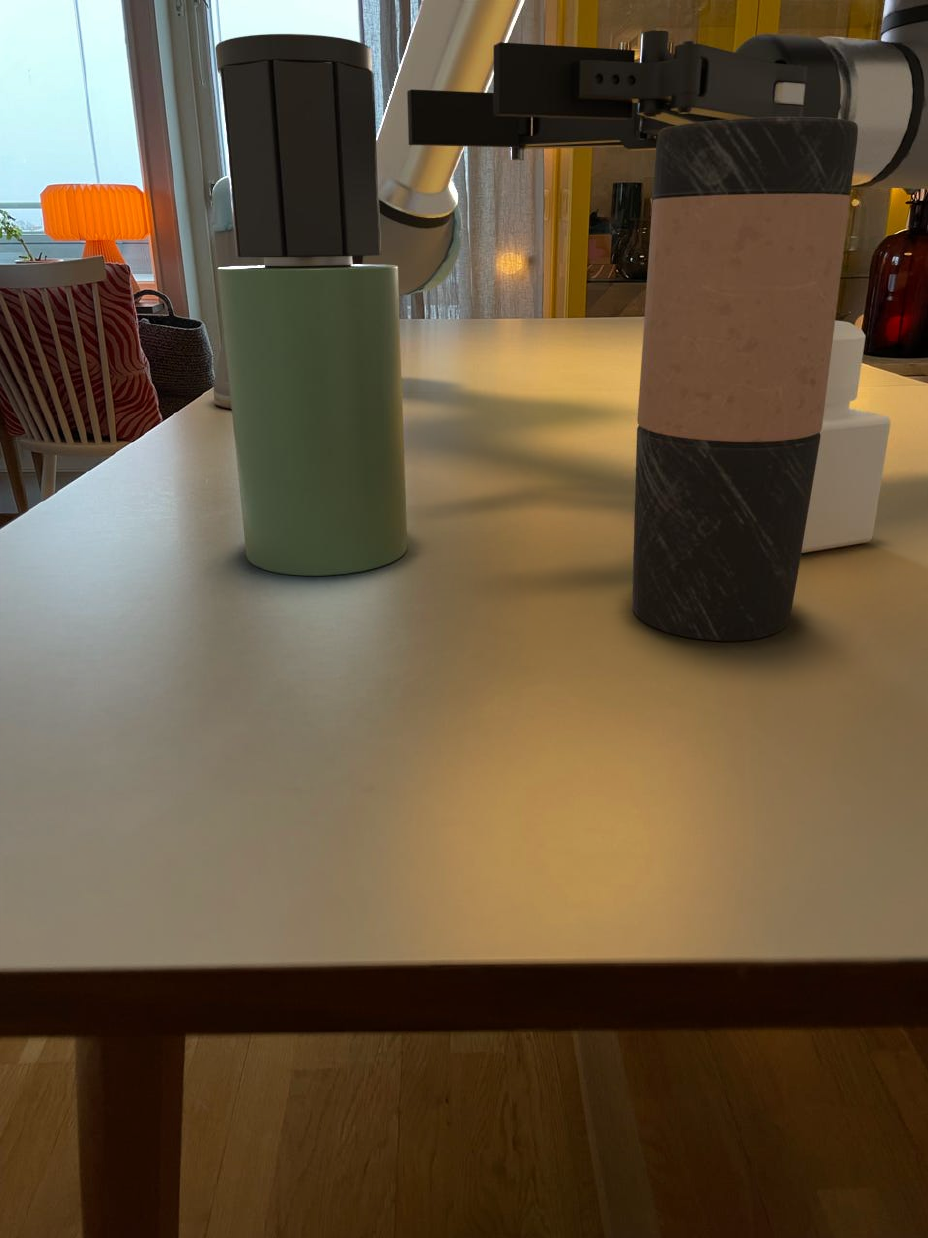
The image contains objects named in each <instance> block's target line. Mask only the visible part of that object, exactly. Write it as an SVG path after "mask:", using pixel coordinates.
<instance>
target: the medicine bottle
mask: <svg viewBox="0 0 928 1238" xmlns="http://www.w3.org/2000/svg"><path fill="white" fill-rule="evenodd" d="M865 343H866V334H865V333H864V331H863V329H862V328H860V327H859V326H856V325H855V324H853V323H851V322H849V321H845V320H844V321H843V320H838V319H835V325H834V334H833V342H832V350H831V358H830V366H829V374H828V383H827V391H826V399H825V407H824V415H823V423H822V429H821V431H820V435H821V437H820V443H819V449H818V455H817V461H816V467H815V473H814V479H813V485H812V491H811V497H810V503H809V509H808V515H807V522H806V528H805V534H804V540H803V546H802V552H801V554H806V553H812V552H817V551H823V550H829V549H836V548H841V547H848V546H853V545H859V544H865V543H869V542H871V541H872V539H873V536H874V530H875V522H876V517H877V510H878V503H879V498H880V492H881V486H882V480H883V473H884V466H885V460H886V453H887V447H888V442H889V435H890V430H891V429H890V428H891V418H890V417H889V416H887V415H885V414H880V413H875V412H870V411H865V410H861V409H856V408H850V403H851V402H853V401H855V400H856V399H857V398H858V393H859V385H860V377H861V371H862V364H863V358H864V351H865Z"/></svg>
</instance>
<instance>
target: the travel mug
mask: <svg viewBox="0 0 928 1238" xmlns="http://www.w3.org/2000/svg"><path fill="white" fill-rule="evenodd" d="M857 138H858V126H857V124H856V123H855V122H853V121H849V120H844V119H835V118H820V117H764V118H743V119H727V120H715V121H705V122H696V123H689V124H682V125H677V126H672V127H668V128H665V129H663V130H661V131H660V132H659V134H658V138H657V145H656V150H655V158H654V159H655V161H654V172H653V173H654V176H653V189H652V190H653V191H652V198H653V200H652V203H651V218H650V233H649V246H648V247H649V248H648V259H647V260H648V262H647V273H646V274H647V276H646V277H647V278H646V289H645V306H644V319H643V335H642V346H641V347H642V348H641V360H640V361H641V362H640V363H641V364H640V377H639V390H638V391H639V392H638V405H637V406H638V407H637V420H636V421H637V425H638V426H637V427H636V449H635V451H636V452H635V482H634V483H635V487H634V488H635V489H634V521H633V523H634V525H633V555H632V556H633V557H632V559H633V560H632V608H633V611H634V613H635V615H636V616H637V618H638V619H640V620H641V621H642V622H643V623H645V624H647V625H649V626H651V627H653V628H654V629H657V630H660V631H662V632H665V633H669V634H672V635H676V636H679V637H685V638H690V639H697V640H704V641H715V642H716V641H717V642H718V641H719V642H737V641H738V642H739V641H749V640H756V639H762V638H765V637H766V638H767V637H769V636H772V635H775V634H777V633H779V632H781V631H783V629H784V628H786V626H787V625H788V624H789V621H790V618H791V613H792V609H793V605H794V604H793V603H794V599H795V593H796V588H797V582H798V575H799V570H800V562H801V558H802V557H801V556H802V553H801V552H802V546H803V540H804V534H805V528H806V522H807V515H808V509H809V503H810V497H811V491H812V485H813V479H814V473H815V467H816V461H817V455H818V449H819V443H820V437H821V435H820V431H821V429H822V423H823V415H824V407H825V399H826V391H827V383H828V374H829V366H830V358H831V350H832V342H833V334H834V325H835V320H836V317H837V308H838V301H839V291H840V284H841V277H842V269H843V268H842V266H843V259H844V251H845V242H846V236H847V235H846V234H847V227H848V220H849V219H848V218H849V210H850V202H851V195H850V194H851V193H852V188H853V187H852V179H853V171H854V162H855V154H856V146H857Z"/></svg>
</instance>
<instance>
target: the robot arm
mask: <svg viewBox="0 0 928 1238" xmlns="http://www.w3.org/2000/svg"><path fill="white" fill-rule="evenodd" d="M524 2H525V0H421V2H420V4H419V8H418V11H417V14H416V17H415V21H414V23H413V27H412V30H411V32H410V36H409V39H408V42H407V45H406V47H405V51H404V54H403V57H402V60H401V63H400V65H399V69H398V72H397V75H396V78H395V81H394V86H393V88H392V91H391V94H390V96H389V100H388V103H387V107H386V109H385V112H384V115H383V118H382V121H381V124H380V128H379V130H378V133H377V135H376V141H377V166H378V191H379V217H380V242H381V255H376V256H352V265H396V266H398V284H399V297H403V296H409V295H413V294H417V293H424V292H428V291H431V290H434V289H435V288H437V287H439V286H440V285H441V284H443V282H444V281H445V280H446V279H447V278H448V277H449V276H450V274H451V273H452V271H453V269H454V267H455V266H456V264H457V262H458V259H459V256H460V253H461V249H462V243H463V238H462V237H460V232H461V231H462V230H463V218H462V213H461V210H460V207H459V203H458V200H459V195H458V191H457V189H456V186H455V184H454V182H453V176H454V174H455V171H456V170H457V167H458V164H459V162H460V159H461V157H462V154H463V153H464V149H465V148H466V147H473V148H474V147H479V148H482V147H483V148H509V149H510V160H511V161H525V150H543V149H544V150H545V149H547V150H548V149H551V150H552V149H586V148H587V149H591V148H592V149H593V148H595V149H596V148H625V149H627V150H629V151H633V152H637V151H642V152H643V151H656V145H657V138H658V134H659V132H660V131H661V130H663V129H665V128H668V127H672V126H677V125H682V124H689V123H696V122H705V121H715V120H727V119H743V118H764V117H820V118H835V119H844V120H849V121H853V122H855V123H856V124H857V126H858V138H857V146H856V154H855V162H854V171H853V179H852V187H851V188H875V189H876V188H877V189H878V188H879V189H880V188H881V189H909V190H928V0H884V6H883V14H882V22H881V29H880V36H881V39H880V40H877V39H865V38H854V37H853V38H852V37H844V36H843V37H841V36H831V35H827V36H821V37H816V36H812V35H797V34H780V33H768V32H767V33H765V32H764V33H760V34H756V35H753V36H752V37H750V38H748V39H747V40H745V41H744V42H743V43H741V44H740V45H739V47H738V48H737V49H736V50H735V51H729V50H726V49H722V48H717V47H715V46H714V47H713V46H709V45H705V44H703V43H696V41H694V40H686V41H684V42H682V44H677V45H675V46H674V53H672V52H670V51H668V46H669V31H668V30H661V29H660V30H659V29H655V30H654V29H653V30H647V31H643V32H642V33H641V41H640V58H639V62H638V61H637V62H636V61H635V59H636V57H635V56H636V49H621V48H606V47H603V48H602V47H586V46H573V45H571V46H570V45H553V44H535V43H519V42H509V39H510V36H511V35H512V32H513V29H514V27H515V24H516V21H517V19H518V16H519V14H520V12H521V10H522V7H523V5H524ZM492 80H493V81H492ZM492 82H493V92H488V91H489V88H490V86H491V84H492ZM211 194H212V195H211V196H212V197H211V198H212V199H211V200H212V224H211V228H212V231H213V233H214V234H213V235H214V243H215V244H214V245H215V253H216V262H217V269H218V268H222V267H239V266H265V265H264V257H237V256H236V248H235V238H234V227H233V216H232V206H231V195H230V184H229V175H228V176H224V177H222V178H220V179H219V180H217V182H215V185H214V187H213V189H212V193H211ZM222 335H223V336H222V340H221V345H220V350H219V353H218V354H219V355H218V360H217V364H216V369H215V374H214V379H213V389H212V390H213V402H214V404H215V405H217V406H219V407H221V408H225V409H231V410H232V408H231V399H230V389H229V379H228V369H227V359H226V349H225V339H224V334H222Z"/></svg>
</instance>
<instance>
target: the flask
mask: <svg viewBox="0 0 928 1238" xmlns="http://www.w3.org/2000/svg"><path fill="white" fill-rule="evenodd" d="M264 265H265V266H239V267H222V268H218V267H217V277H218V278H217V279H218V290H219V299H220V308H221V319H222V328H223V335H224V339H225V349H226V359H227V369H228V379H229V389H230V399H231V408H232V409H231V408H230V409H231V418H232V427H233V428H232V429H233V437H234V447H235V448H234V449H235V456H236V457H235V459H236V466H237V476H238V485H239V496H240V505H241V515H242V527H243V535H244V544H245V545H244V546H245V554H246V558H247V560H248V562H250V563H251V565H253V566H254V567H257V568H259V569H261V570H264V571H268V572H273V573H277V574H282V575H291V576H304V577H324V576H325V577H326V576H339V575H347V574H354V573H360V572H361V573H362V572H365V571H369V570H374V569H377V568H380V567H383V566H386V565H389V564H391V563H393V562H396V561H397V560H399V559H400V558H401V557H403V556H404V555H405V554H406V552H407V550H408V528H407V527H408V526H407V525H408V524H407V523H408V521H407V497H406V465H405V440H404V439H405V437H404V436H405V435H404V433H405V432H404V409H403V408H404V405H403V378H402V377H403V376H402V375H403V374H402V349H401V348H402V347H401V316H400V296H399V284H398V266H396V265H352V256H334V257H264Z"/></svg>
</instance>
